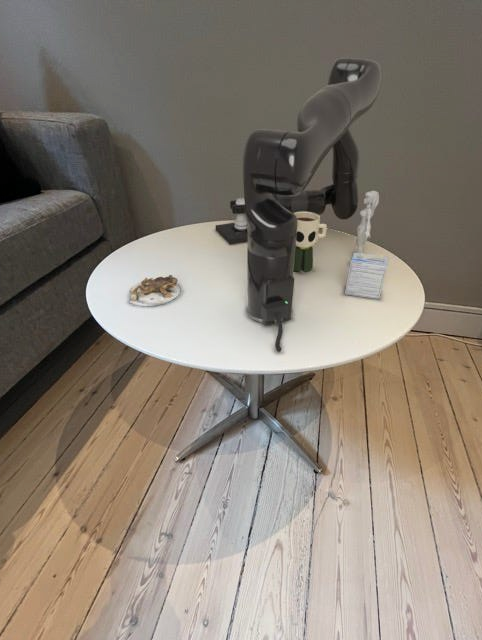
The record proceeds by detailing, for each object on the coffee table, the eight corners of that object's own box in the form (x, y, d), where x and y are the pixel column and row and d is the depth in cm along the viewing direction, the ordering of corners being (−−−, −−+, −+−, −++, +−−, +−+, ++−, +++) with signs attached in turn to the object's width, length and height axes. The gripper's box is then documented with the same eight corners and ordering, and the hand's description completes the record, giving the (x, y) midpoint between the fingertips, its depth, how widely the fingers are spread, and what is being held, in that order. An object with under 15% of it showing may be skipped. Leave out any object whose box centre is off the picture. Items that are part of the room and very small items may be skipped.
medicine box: (379, 291, 91) (388, 255, 85) (379, 300, 88) (388, 264, 82) (346, 286, 93) (352, 251, 87) (344, 295, 89) (351, 259, 84)
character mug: (280, 275, 97) (284, 221, 88) (277, 262, 102) (280, 211, 93) (323, 274, 97) (331, 221, 88) (318, 262, 102) (325, 211, 94)
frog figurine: (180, 279, 94) (178, 264, 91) (181, 304, 85) (179, 288, 82) (132, 282, 92) (128, 267, 90) (127, 308, 84) (123, 292, 81)
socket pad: (268, 238, 114) (268, 233, 113) (230, 244, 110) (230, 239, 109) (251, 224, 122) (251, 219, 121) (215, 230, 118) (215, 225, 117)
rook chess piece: (243, 231, 112) (242, 202, 107) (231, 228, 114) (230, 199, 109) (252, 227, 115) (252, 198, 110) (240, 224, 117) (239, 195, 112)
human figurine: (348, 254, 106) (362, 183, 94) (362, 255, 106) (377, 184, 94) (351, 274, 97) (366, 198, 85) (366, 275, 97) (383, 199, 85)
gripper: (284, 183, 115) (227, 185, 113) (297, 197, 105) (234, 201, 103) (283, 209, 120) (228, 212, 118) (294, 225, 110) (235, 229, 108)
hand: (231, 207), depth 110 cm, fingers closed on rook chess piece, 3 cm apart
